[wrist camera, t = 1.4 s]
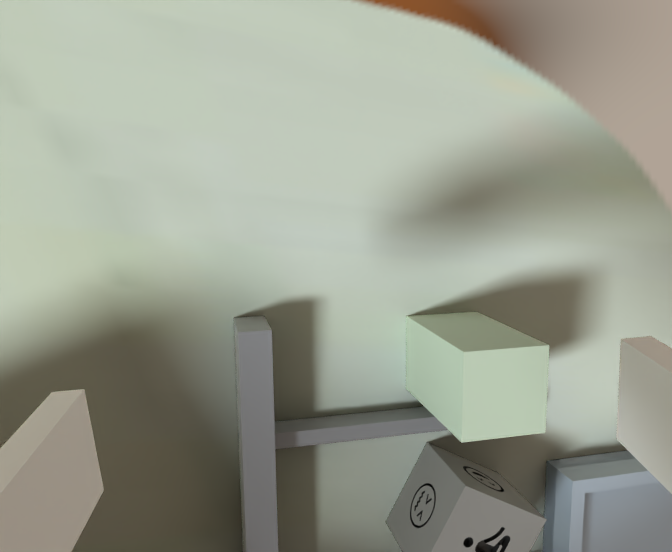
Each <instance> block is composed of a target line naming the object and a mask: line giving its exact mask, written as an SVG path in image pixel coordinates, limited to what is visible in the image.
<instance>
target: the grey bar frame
mask: <svg viewBox="0 0 672 552" xmlns="http://www.w3.org/2000/svg"><path fill="white" fill-rule="evenodd" d="M234 337H235V362H236V388H237V413H238V439H239V464H240V490H241V515H242V540H243V552H278V525H277V491H276V456H275V449H282V448H291V447H300V446H309V445H318V444H327V443H336V442H344V441H353V440H362V439H371V438H380V437H389V436H398V435H407V434H416V433H425V432H434V431H443V430H448V429H447V428H446V427H445V426H444V425H443V424H442V423H441V422H440V421H439V420H438V419H437V418H436V417H435V416H434V415H433V414H432V413H431V412H430V411H428V410H427V409H426V408H425V407H415V408H405V409H395V410H385V411H375V412H365V413H355V414H346V415H336V416H326V417H316V418H306V419H296V420H287V421H277V422H274V388H273V353H272V330H271V328H270V326H269V324H268V322H267V320H266V318H265V316H253V317H237V318H234Z"/></svg>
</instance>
